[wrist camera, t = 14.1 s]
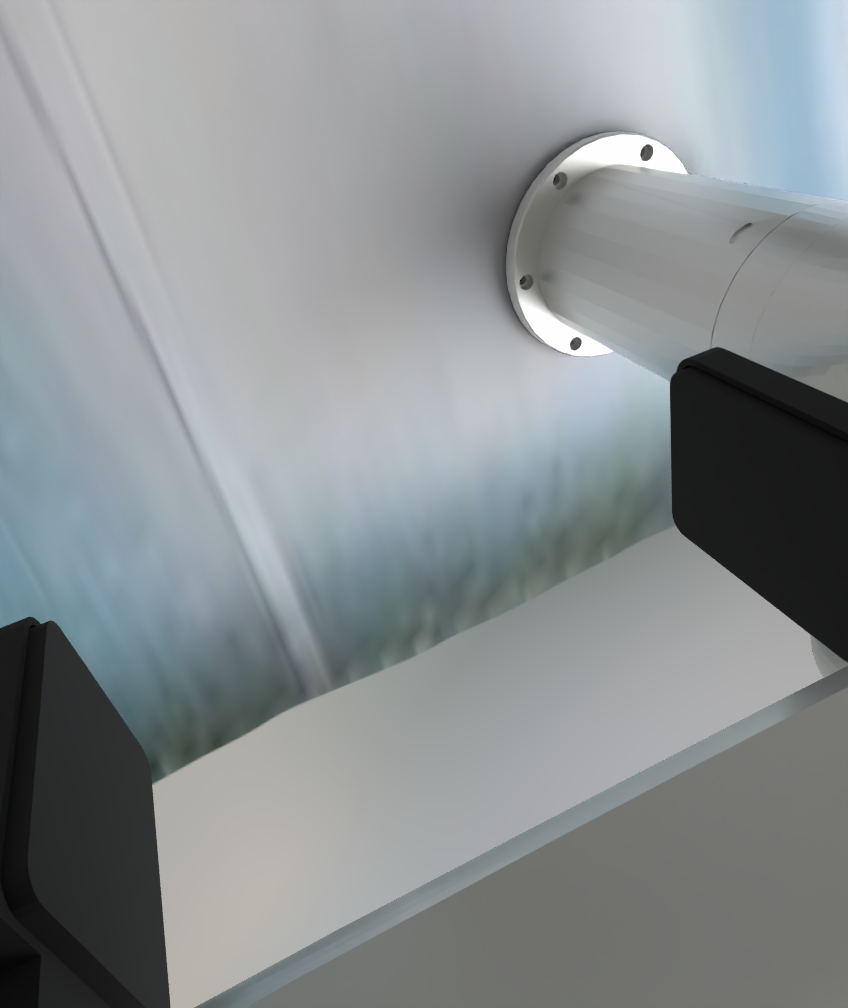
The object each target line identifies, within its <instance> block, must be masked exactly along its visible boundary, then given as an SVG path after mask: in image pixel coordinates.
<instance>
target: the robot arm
mask: <svg viewBox="0 0 848 1008" xmlns="http://www.w3.org/2000/svg"><path fill="white" fill-rule="evenodd" d="M554 177H555V181H554V183H553V179H554ZM506 275H507V285H508V291H509V294H510V297H511V301H512V304H513V307H514V309H515V311H516V313H517V315H518V317H519V319H520V321H521V322H522V324H523V325H524V326H525V327H526V328H527V330H528V331H529V332H530V333H531V334H532V335H533V336H534V337H535V338H537V339H538V340H539V341H541V342H542V343H544V344H545V345H547V346H549V347H550V348H552V349H554V350H556V351H558V352H560V353H563V354H566V355H570V356H576V357H594V356H599V355H605V354H609V353H611V352H616V353H617V354H619V355H621V356H623V357H625V358H627V359H629V360H631V361H632V362H634V363H636V364H638V365H640V366H642V367H644V368H646V369H647V370H649V371H651V372H653V373H655V374H657V375H659V376H661V377H662V378H664V379H666V380H668V381H670V412H671V470H672V514H673V519H674V522H675V524H676V526H677V528H678V529H679V531H680V532H681V533H682V534H683V535H684V536H685V537H687V538H688V539H689V540H691V541H692V542H693V543H694V544H696V545H697V546H698V547H699V548H701V549H702V550H703V551H704V552H706V553H707V554H708V555H710V556H711V557H712V558H714V559H715V560H716V561H717V562H719V563H720V564H721V565H722V566H724V567H725V568H726V569H727V570H729V571H730V572H731V573H733V574H734V575H735V576H736V577H738V578H739V579H740V580H742V581H743V582H744V583H745V584H747V585H748V586H750V587H751V588H752V589H753V590H754V591H756V592H757V593H758V594H759V595H761V596H762V597H764V598H765V599H766V600H767V601H768V602H770V603H771V604H772V605H774V606H775V607H776V608H777V609H779V610H780V611H781V612H783V613H784V614H785V615H786V616H788V617H789V618H790V619H791V620H793V621H794V622H795V623H797V624H798V625H799V626H801V627H802V628H803V629H804V630H806V631H807V632H808V633H809V634H810V636H811V645H812V652H813V655H814V658H815V661H816V664H817V666H818V668H819V670H820V672H821V674H822V675H823V677H824V678H823V679H821V680H819V681H817V682H815V683H813V684H811V685H809V686H807V687H805V688H803V689H801V690H800V691H797V692H795V693H793V694H791V695H789V696H788V697H785V698H784V699H782V700H780V701H778V702H776V703H774V704H772V705H770V706H768V707H766V708H764V709H762V710H760V711H758V712H756V713H754V714H752V715H750V716H748V717H746V718H744V719H742V720H741V721H739V722H737V723H735V724H733V725H731V726H729V727H727V728H725V729H723V730H721V731H719V732H717V733H715V734H713V735H711V736H709V737H708V738H706V739H704V740H702V741H700V742H698V743H696V744H694V745H692V746H690V747H688V748H686V749H684V750H682V751H680V752H678V753H676V754H675V755H673V756H671V757H669V758H667V759H665V760H663V761H661V762H659V763H657V764H655V765H653V766H651V767H649V768H648V769H645V770H644V771H642V772H640V773H638V774H636V775H634V776H632V777H630V778H628V779H626V780H624V781H622V782H621V783H618V784H616V785H615V786H613V787H611V788H609V789H607V790H605V791H603V792H601V793H599V794H597V795H595V796H593V797H591V798H590V799H587V800H586V801H584V802H582V803H580V804H578V805H576V806H574V807H572V808H570V809H568V810H566V811H564V812H563V813H560V814H559V815H557V816H555V817H553V818H551V819H549V820H547V821H545V822H543V823H541V824H540V825H537V826H535V827H534V828H532V829H530V830H528V831H526V832H524V833H522V834H520V835H518V836H516V837H514V838H512V839H510V840H509V841H507V842H505V843H503V844H501V845H499V846H497V847H495V848H493V849H491V850H489V851H488V852H486V853H484V854H482V855H480V856H478V857H476V858H474V859H472V860H470V861H469V862H467V863H465V864H463V865H461V866H459V867H457V868H455V869H453V870H451V871H450V872H447V873H445V874H444V875H442V876H440V877H438V878H436V879H434V880H432V881H430V882H428V883H426V884H424V885H423V886H421V887H419V888H417V889H415V890H413V891H411V892H409V893H407V894H405V895H404V896H402V897H400V898H398V899H396V900H394V901H392V902H390V903H388V904H386V905H384V906H382V907H381V908H379V909H377V910H375V911H373V912H371V913H369V914H367V915H365V916H363V917H361V918H360V919H358V920H356V921H354V922H352V923H350V924H348V925H346V926H344V927H342V928H340V929H338V930H337V931H335V932H333V933H331V934H329V935H327V936H325V937H324V938H322V939H320V940H318V941H316V942H314V943H313V944H311V945H309V946H307V947H305V948H303V949H302V950H300V951H298V952H296V953H294V954H292V955H291V956H289V957H287V958H285V959H283V960H281V961H280V962H278V963H276V964H274V965H272V966H270V967H268V968H267V969H265V970H263V971H261V972H259V973H257V974H256V975H254V976H252V977H250V978H248V979H246V980H244V981H243V982H241V983H239V984H237V985H236V986H233V987H232V988H230V989H228V990H226V991H224V992H222V993H221V994H219V995H217V996H215V997H213V998H212V999H210V1000H208V1001H206V1002H204V1003H202V1004H200V1005H199V1006H197V1007H195V1008H848V201H844V200H838V199H832V198H826V197H820V196H814V195H808V194H802V193H797V192H791V191H785V190H779V189H773V188H767V187H761V186H755V185H749V184H746V183H737V182H731V181H725V180H720V179H714V178H708V177H702V176H696V175H690V174H688V172H687V170H686V169H685V167H684V165H683V163H682V162H681V160H680V159H679V158H678V157H677V156H676V155H675V154H674V153H673V151H672V150H671V149H670V148H668V147H667V146H665V145H664V144H662V143H661V142H659V141H658V140H656V139H654V138H651V137H648V136H645V135H642V134H639V133H631V132H622V131H620V132H606V133H600V134H597V135H594V136H590V137H587V138H584V139H582V140H580V141H579V142H577V143H575V144H573V145H571V146H570V147H568V148H566V149H565V150H563V151H562V152H561V153H560V154H559V155H558V156H556V157H555V158H554V159H553V160H552V161H550V162H549V163H548V164H547V165H546V167H545V168H544V169H543V170H542V171H541V173H540V174H539V175H538V176H537V177H536V179H535V180H534V181H533V182H532V184H531V186H530V187H529V189H528V191H527V193H526V194H525V196H524V198H523V199H522V201H521V203H520V206H519V208H518V211H517V213H516V216H515V218H514V220H513V223H512V227H511V231H510V236H509V240H508V244H507V256H506ZM521 278H522V281H521V282H520V280H521ZM0 1008H170V996H169V984H168V973H167V962H166V948H165V936H164V924H163V912H162V900H161V887H160V875H159V864H158V852H157V839H156V828H155V815H154V803H153V792H152V779H151V770H150V766H149V762H148V759H147V757H146V754H145V752H144V750H143V748H142V747H141V745H140V744H139V742H138V741H137V739H136V738H135V736H134V735H133V733H132V732H131V731H130V729H129V728H128V726H127V725H126V723H125V722H124V720H123V719H122V717H121V716H120V715H119V713H118V712H117V710H116V709H115V707H114V706H113V704H112V703H111V701H110V700H109V699H108V697H107V696H106V694H105V693H104V691H103V690H102V688H101V687H100V685H99V684H98V683H97V681H96V680H95V678H94V677H93V675H92V674H91V672H90V671H89V669H88V668H87V667H86V665H85V664H84V662H83V661H82V659H81V658H80V656H79V655H78V653H77V652H76V651H75V649H74V648H73V646H72V645H71V643H70V642H69V640H68V639H67V637H66V636H65V635H64V633H63V632H62V630H61V629H60V627H59V626H58V625H57V624H56V623H55V622H54V621H48V622H45V623H43V624H40V623H39V621H37V620H36V619H35V618H33V617H27V618H25V619H22V620H20V621H17V622H15V623H12V624H10V625H7V626H5V627H2V628H0Z"/></svg>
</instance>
